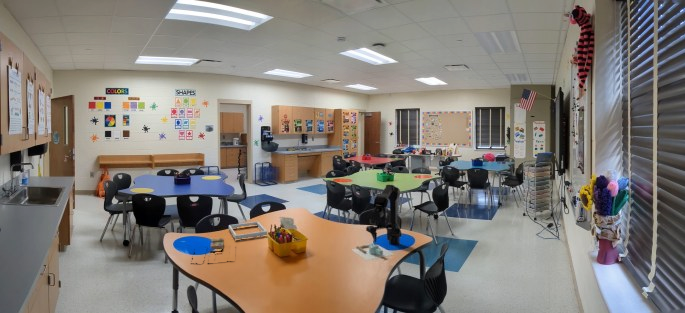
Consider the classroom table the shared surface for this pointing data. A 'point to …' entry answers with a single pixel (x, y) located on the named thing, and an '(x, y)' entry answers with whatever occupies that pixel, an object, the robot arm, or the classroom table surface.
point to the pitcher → (287, 223)
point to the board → (369, 256)
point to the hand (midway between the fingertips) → (381, 241)
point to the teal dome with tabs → (375, 250)
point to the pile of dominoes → (217, 243)
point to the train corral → (248, 233)
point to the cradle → (363, 247)
